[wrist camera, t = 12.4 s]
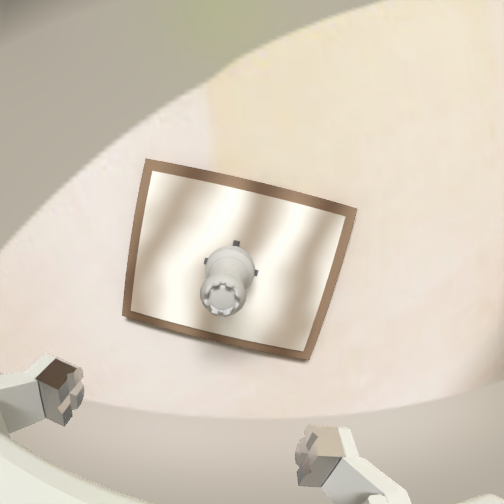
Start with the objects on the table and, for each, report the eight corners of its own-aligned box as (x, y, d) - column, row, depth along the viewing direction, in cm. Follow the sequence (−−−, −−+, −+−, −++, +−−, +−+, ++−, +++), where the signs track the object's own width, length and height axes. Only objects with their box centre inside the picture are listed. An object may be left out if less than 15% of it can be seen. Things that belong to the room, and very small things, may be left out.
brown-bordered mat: (354, 207, 28) (358, 209, 27) (307, 355, 32) (309, 361, 30) (149, 159, 28) (144, 158, 26) (125, 311, 31) (121, 316, 30)
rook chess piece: (203, 247, 28) (183, 271, 20) (252, 241, 28) (251, 264, 20) (210, 293, 29) (194, 331, 21) (257, 289, 29) (258, 327, 21)
